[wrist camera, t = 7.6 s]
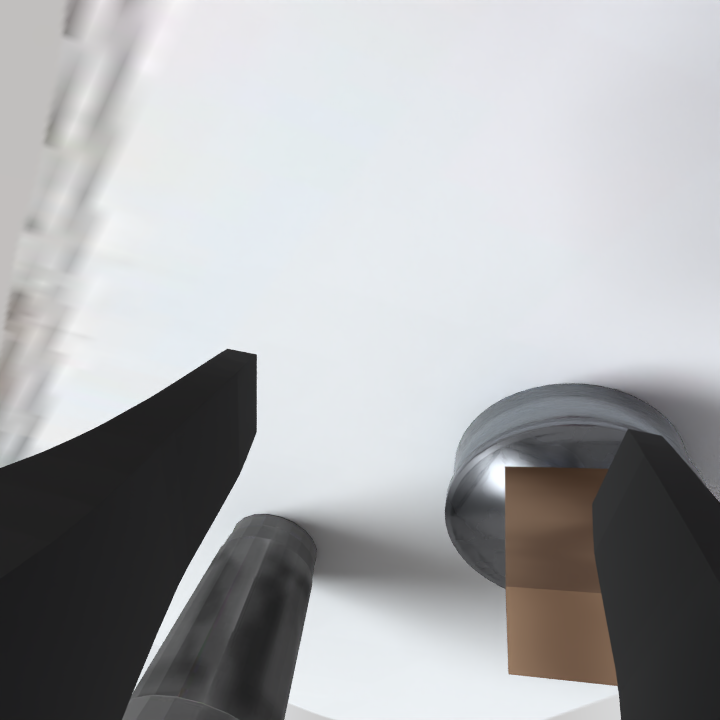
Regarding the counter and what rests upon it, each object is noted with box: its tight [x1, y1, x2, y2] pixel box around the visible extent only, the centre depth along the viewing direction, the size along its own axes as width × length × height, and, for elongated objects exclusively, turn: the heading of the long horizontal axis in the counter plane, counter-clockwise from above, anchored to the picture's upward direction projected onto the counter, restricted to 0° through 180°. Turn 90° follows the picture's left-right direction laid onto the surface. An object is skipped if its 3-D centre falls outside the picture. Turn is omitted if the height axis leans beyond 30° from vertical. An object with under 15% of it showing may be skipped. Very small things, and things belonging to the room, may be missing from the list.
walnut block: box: [505, 466, 618, 686], centre depth 20 cm, size 4×4×5 cm
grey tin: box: [445, 384, 706, 589], centre depth 23 cm, size 9×9×3 cm
